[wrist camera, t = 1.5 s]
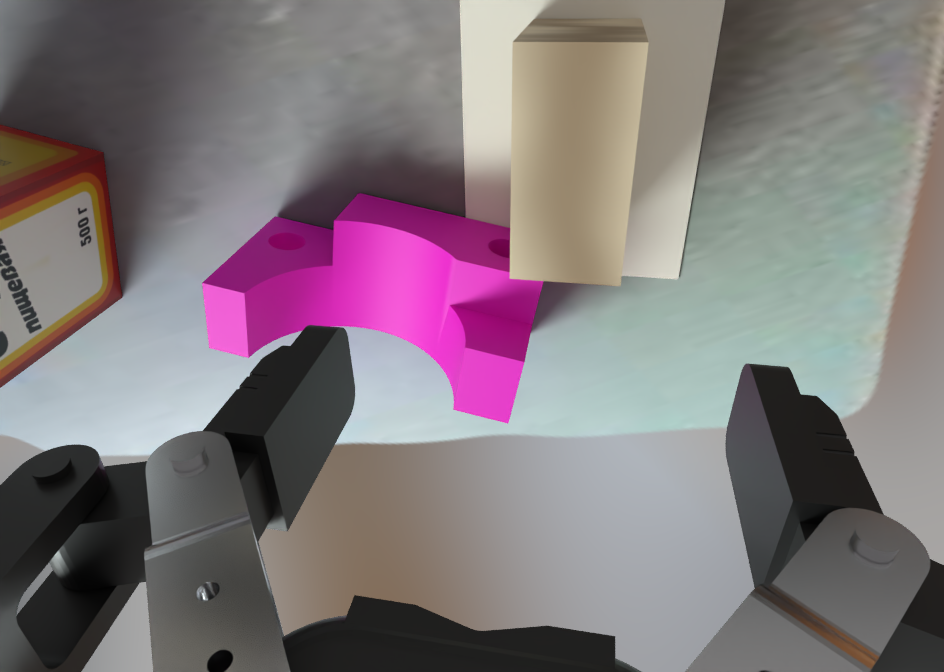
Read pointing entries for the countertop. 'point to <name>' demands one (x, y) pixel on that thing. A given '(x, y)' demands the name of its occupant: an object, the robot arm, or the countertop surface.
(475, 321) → the toy block
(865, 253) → the countertop surface
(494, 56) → the tile
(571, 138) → the maple block
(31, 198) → the baking soda box
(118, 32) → the countertop surface
